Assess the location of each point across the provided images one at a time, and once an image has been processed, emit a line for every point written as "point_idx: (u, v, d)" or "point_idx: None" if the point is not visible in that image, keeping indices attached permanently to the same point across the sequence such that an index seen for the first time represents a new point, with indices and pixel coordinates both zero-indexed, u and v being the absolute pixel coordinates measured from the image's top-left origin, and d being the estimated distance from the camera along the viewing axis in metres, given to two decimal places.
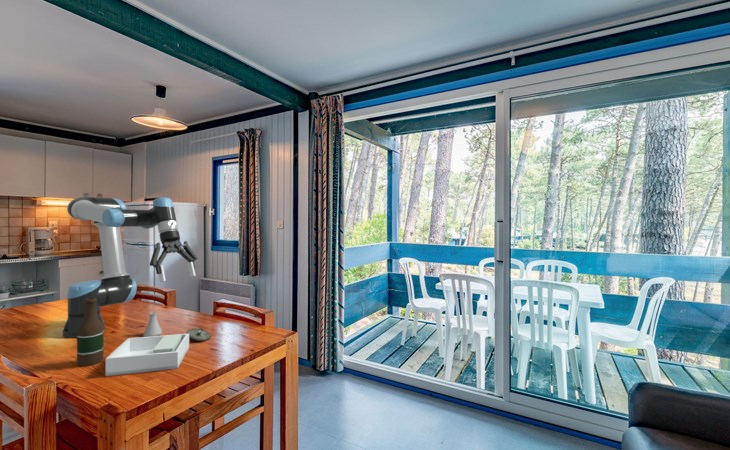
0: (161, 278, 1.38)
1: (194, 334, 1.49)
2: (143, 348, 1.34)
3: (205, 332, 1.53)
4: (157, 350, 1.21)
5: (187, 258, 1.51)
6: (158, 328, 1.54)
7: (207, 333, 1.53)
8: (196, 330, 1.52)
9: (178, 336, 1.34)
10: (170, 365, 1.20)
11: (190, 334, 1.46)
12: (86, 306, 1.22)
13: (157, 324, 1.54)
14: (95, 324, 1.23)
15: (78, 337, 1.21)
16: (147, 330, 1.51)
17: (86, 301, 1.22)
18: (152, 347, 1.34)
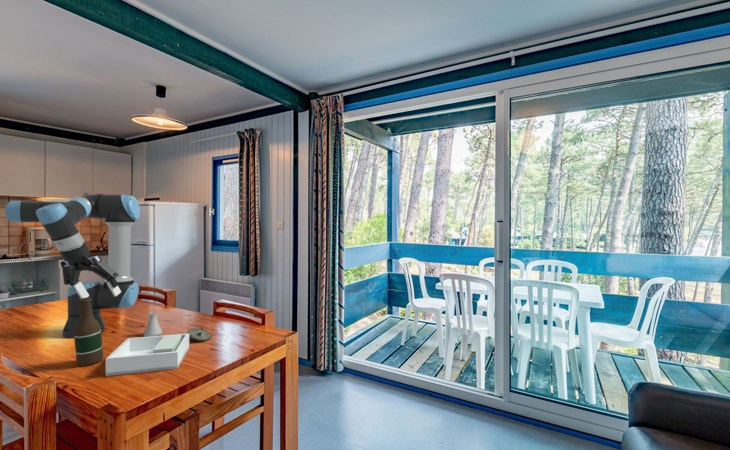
0: None
1: (195, 334, 1.49)
2: (143, 348, 1.34)
3: (206, 332, 1.53)
4: (157, 350, 1.21)
5: None
6: (158, 328, 1.54)
7: (208, 333, 1.53)
8: (197, 330, 1.52)
9: (178, 336, 1.34)
10: (170, 365, 1.20)
11: (191, 334, 1.46)
12: (81, 306, 1.22)
13: (156, 324, 1.54)
14: (91, 324, 1.22)
15: (75, 337, 1.20)
16: (147, 330, 1.51)
17: (80, 301, 1.21)
18: (152, 347, 1.34)
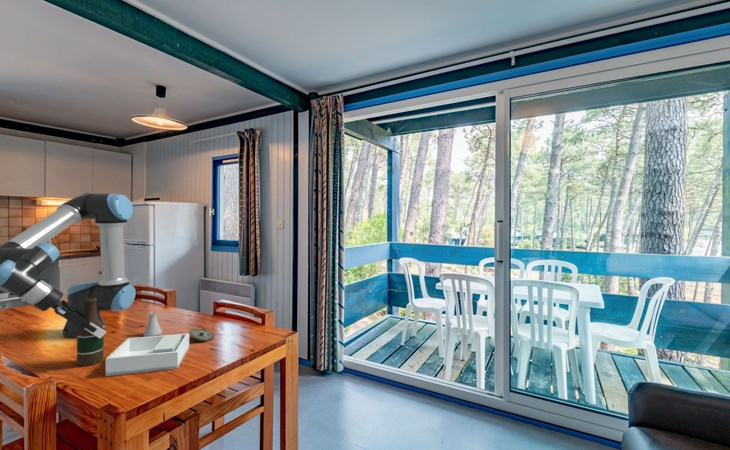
0: None
1: (197, 334, 1.48)
2: (143, 348, 1.34)
3: (208, 332, 1.53)
4: (157, 350, 1.21)
5: None
6: (158, 328, 1.54)
7: (210, 333, 1.53)
8: (199, 330, 1.52)
9: (178, 336, 1.34)
10: (170, 365, 1.20)
11: (193, 334, 1.46)
12: (86, 306, 1.22)
13: (156, 324, 1.54)
14: (95, 324, 1.23)
15: (78, 337, 1.21)
16: (147, 330, 1.51)
17: (86, 301, 1.22)
18: (152, 347, 1.34)
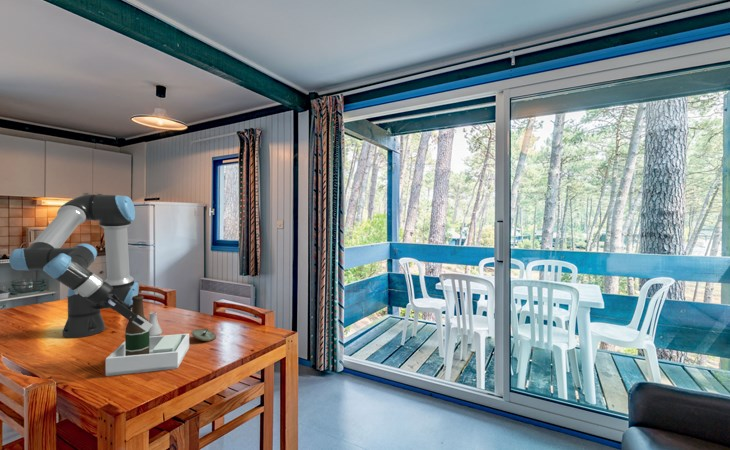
0: None
1: (199, 334, 1.48)
2: None
3: (210, 332, 1.53)
4: (157, 350, 1.21)
5: None
6: (158, 328, 1.54)
7: (212, 333, 1.53)
8: (201, 330, 1.52)
9: (178, 336, 1.34)
10: (170, 365, 1.20)
11: (195, 334, 1.46)
12: (134, 304, 1.23)
13: (157, 324, 1.54)
14: None
15: (126, 334, 1.22)
16: None
17: (134, 299, 1.23)
18: (152, 347, 1.34)
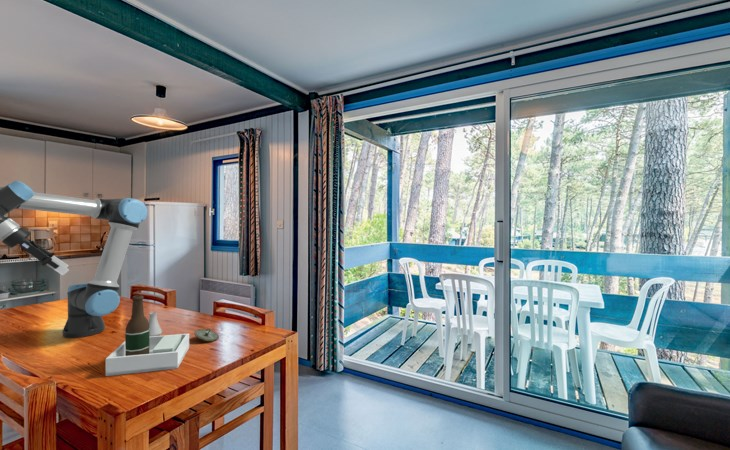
0: None
1: (202, 335, 1.48)
2: None
3: (212, 332, 1.53)
4: (157, 350, 1.21)
5: None
6: (158, 328, 1.54)
7: (214, 333, 1.52)
8: (203, 331, 1.51)
9: (178, 336, 1.34)
10: (170, 365, 1.20)
11: (198, 335, 1.46)
12: (134, 303, 1.23)
13: (157, 324, 1.54)
14: (142, 322, 1.24)
15: (126, 334, 1.22)
16: None
17: (134, 298, 1.23)
18: (152, 347, 1.34)
